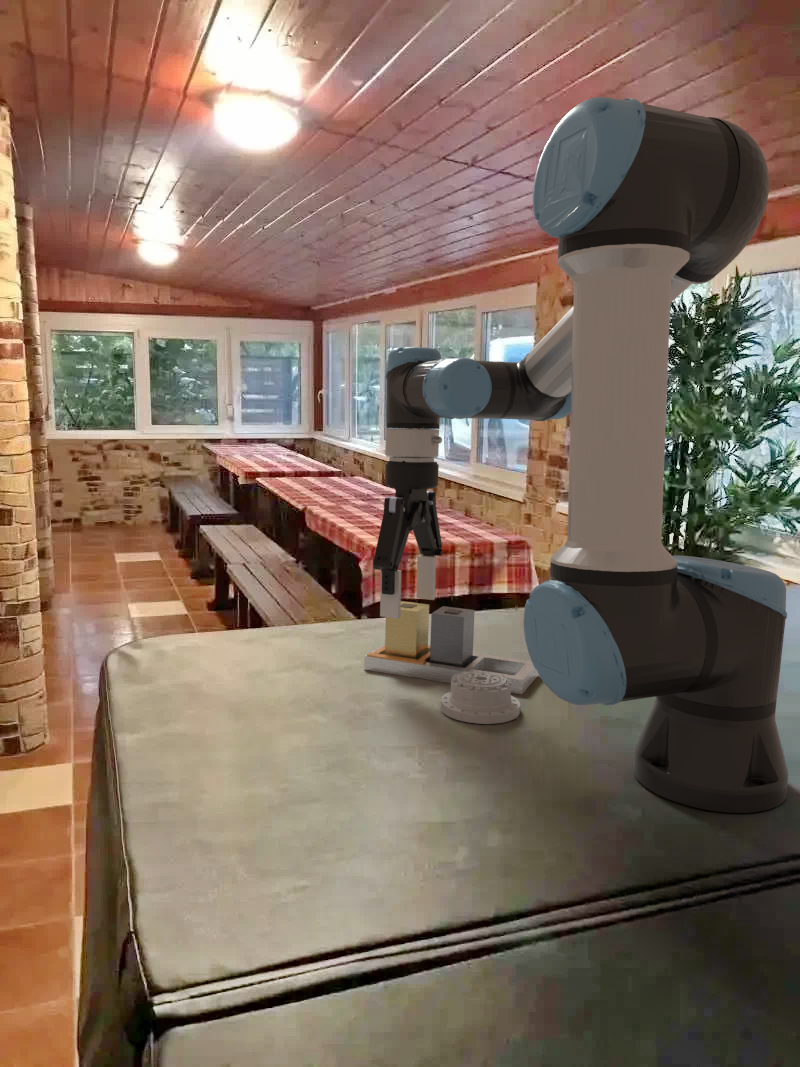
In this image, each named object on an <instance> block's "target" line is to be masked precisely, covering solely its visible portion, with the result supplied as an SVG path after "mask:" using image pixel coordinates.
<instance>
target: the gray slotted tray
mask: <svg viewBox="0 0 800 1067" xmlns="http://www.w3.org/2000/svg"><path fill="white" fill-rule="evenodd" d="M363 659H364V660H363V662H364V663H363V666H364V667H363V668H364V670H365V671H371V672H376V673H382V674H383V673H384V674H390V675H395V676H396V675H397V676H403V677H408V678H416V679H422V680H428V681H433V682H440V683H447V684H451V680H452V677H453V676H454V675H455V674H457V675H459V674H461V673H463V672H472V671H487V672H494V673H495V674H498V675H505V678H506V679H510V680H511V694H517V695H523V694H524V693H525V692H526V690H528V688H529V687H530V686H531V684H533V682H534V681H535V680H536V679H537V677H539V674H538V671H537V670H536V669H535V667H534V665H533V663H532V660H526V659H518V658H511V657H504V656H498V655H491V654H484V653H483V654H482V653H476V652H473V661H472V663H471V664H469V665H468V666H467V667H466V668H461V667H454V666H448V665H441V664H434V663H430V645H428V653H427V654H425V655H424V656H423V657H421V658H420V659H418V660H417V659H410V658H404V657H397V656H390V655H385V643H384V644H382V645H381V646H378V647H377V648H376V649H373V650H371V651H370V652H369V653H367V654H365V655H364V658H363Z"/></svg>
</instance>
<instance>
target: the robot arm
mask: <svg viewBox="0 0 800 1067" xmlns="http://www.w3.org/2000/svg"><path fill="white" fill-rule="evenodd" d="M769 176H770V175H769V168H768V166H767V162H766V158H765V156H764V153H763V151H762V149H761V148H760V146H759V144H758V143H757V141H755V139H754V138H753V137H752V136H751V135H750V134H749V132H748V131H746V130H744V129H743V128H742V127H740V126H739V125H737V124H735V123H733V122H731V121H729V120H726V119H722V118H717V117H712V116H711V117H709V116H708V117H707V116H703V115H698V114H694V113H693V114H692V113H688V112H684V111H681V110H680V111H679V110H675V109H670V108H665V107H660V106H656V105H652V104H647V103H644V102H643V103H642V102H640V100H638V99H636V98H624V99H620V98H619V99H618V98H612V97H607V96H596V97H591V98H588V99H585V100H583V101H582V102H580V103H578V104H577V105H575V106H574V107H573V108H572V109H570V110H569V111H568V112H567V113H566V114H565V115H564V116H563V117H562V118H561V120H560V121H559V122H558V123H557V125H556V126H555V128H554V129H553V132H552V134H551V135H550V137H549V139H548V141H547V142H546V144H545V146H544V148H543V151H542V153H541V154H540V158H539V161H538V164H537V168H536V171H535V175H534V181H533V187H532V210H533V211H532V212H533V215H534V218H535V219H536V220H537V225H538V226H539V227H540V230H541V231H543V232H544V233H546V234H548V236H550V237H553V238H555V239H556V238H558V240H557V241H558V244H557V251H558V252H557V266H558V267H559V268H560V269H561V270H562V271H563V272H564V273H565V274H566V275H567V277H568V278H569V279H570V280H571V281H572V283H573V305H572V307H571V308H570V309H569V310H568V311H567V312H566V313H565V314H563V316H562V317H561V319H560V320H559V321H558V322H557V323H556V324H555V325H554V326H552V328H551V329H550V330H549V331H548V332H547V333H546V334H545V335H544V336H543V337H542V339H541V340H540V341H539V342H538V343H537V344H535V346H534V347H533V348H532V349H531V350H530V351H529V352H528V353H527V354H526V355H525V356H524V357H523V358H522V360H519V361H517V362H515V361H514V362H513V361H499V360H498V361H493V360H492V361H490V360H475V359H473V358H470V357H465V356H464V357H461V356H460V357H459V356H458V357H456V356H449V357H446V358H442V354H441V352H440V350H438V349H437V348H435V347H434V348H433V347H425V346H424V347H423V346H422V347H421V346H405V347H404V346H401V347H395V348H393V349H391V350H390V351H389V353H388V355H387V365H386V366H387V368H386V372H385V379H386V425H385V426H386V428H385V449H384V450H385V451H384V455H385V456H386V457H387V458H389V460H387V461H386V462H385V468H384V469H385V470H384V474H385V476H384V483H385V486H386V487H387V488H391V489H395V493H394V496H385V497H384V504H383V515H382V520H381V523H380V524H381V525H380V530H379V534H378V537H377V538H378V539H377V544H376V547H375V553H374V558H373V563H372V565H373V569H374V570H379V571H380V595H379V596H380V599H379V600H380V602H379V604H380V606H379V616H380V617H383V618H386V617H390V618H400V612H401V601H402V599H401V598H402V570H399V568H400V563H401V561H402V558H403V555H404V551H405V548H406V544H407V541H408V539H409V536H410V532H411V531H413V535H414V538H415V541H416V543H417V547H418V551H419V555H417V558H416V560H417V561H416V562H417V564H416V597H415V598H416V599H419V600H420V599H421V600H430V601H435V599H436V575H437V574H436V573H437V571H436V569H437V568H436V566H437V564H436V563H437V557H442V556H443V548H442V547H443V545H442V544H443V542H442V537H441V530H440V522H439V519H438V518H439V517H438V511H437V493H436V491H435V490H432V489H435V488H436V489H437V487H438V485H439V464H438V462H437V461H435V459H437V458H438V457H439V446H440V445H439V444H441V443H442V441H443V438H442V437H441V436H440V423H441V422H440V421H441V420H440V419H449V420H454V419H456V420H462V419H463V420H464V419H484V420H485V419H487V420H497V419H498V420H526V421H527V420H528V421H531V420H532V421H536V422H546V421H549V420H561V419H565V417H567V416H569V415H570V422H569V423H570V425H569V428H570V429H569V431H570V432H569V464H568V465H569V467H568V470H569V471H568V496H567V497H568V503H567V505H568V506H567V507H568V508H567V539H566V540H565V542H564V544H563V545H561V547H560V548H559V549H558V550H556V552H554V553H553V554H552V555H551V557H550V561H549V562H550V565H549V567H550V568H549V569H550V570H549V575H550V576H549V577H550V578H549V580H545V581H543V582H541V583H539V584H538V585H536V586H535V587H534V588H533V589H532V590H531V591H530V593H529V598H528V599H526V603H525V605H524V609H523V610H524V611H523V633H524V639H525V643H526V644H525V645H526V649H527V651H528V655H529V657H530V661H532V663H533V665H534V667H535V669H536V670H537V671H538V677H539V678H540V679H541V680H542V682H543V683H544V685H545V686H546V687H547V688H548V690H549V691H551V693H553V694H554V695H555V696H556V697H558V698H559V699H560V700H562V701H564V702H565V703H568V704H571V705H577V706H590V705H591V706H592V705H602V706H603V705H604V706H612V705H613V706H614V705H616V704H619V703H621V702H628V701H634V700H636V701H637V700H640V699H642V700H643V699H647V698H654V697H655V698H654V699H655V700H654V702H653V705H652V708H651V710H650V712H649V714H648V717H647V719H646V722H645V723H644V726H643V728H642V730H641V732H640V735H639V738H638V739H637V742H636V744H635V747H634V750H633V762H632V772H633V775H634V777H635V779H636V780H637V781H638V782H639V783H640V784H641V785H642V786H644V787H645V788H646V789H648V790H649V791H651V792H652V793H655V794H657V795H658V796H661V797H663V798H665V799H667V800H669V801H672V802H675V803H678V804H680V805H685V806H688V807H692V808H694V809H695V808H696V809H701V810H706V811H712V812H720V813H733V814H746V813H747V814H748V813H758V812H763V811H768V810H771V809H774V808H776V807H778V806H780V805H781V804H783V802H784V801H785V800H786V798H787V796H788V795H787V794H788V785H789V770H788V765H787V762H786V758H785V755H784V749H783V746H782V742H781V738H780V734H779V729H778V726H777V722H776V709H777V701H778V693H779V692H778V691H779V682H780V681H779V680H780V675H781V674H780V672H781V665H782V664H781V663H782V654H783V644H784V636H785V628H786V627H785V626H786V619H787V618H788V613H787V611H786V609H787V608H786V607H787V587H786V586H787V585H786V583H785V582H784V580H783V578H781V577H780V575H778V574H777V573H775V572H773V571H769V570H766V569H761V568H759V567H755V566H754V567H753V566H750V565H745V564H741V563H736V562H735V563H734V562H728V561H725V560H724V561H723V560H719V559H713V558H707V557H706V558H705V557H697V556H692V555H690V556H688V555H679V554H678V555H677V554H676V555H672V554H670V552H669V551H668V550H667V549H666V548H665V547H664V545H663V542H662V535H663V532H662V530H663V510H664V509H663V507H664V506H663V504H664V502H663V501H664V483H665V482H664V478H665V476H664V475H665V454H666V451H665V450H666V449H665V448H666V430H667V429H666V425H667V424H666V423H667V397H668V373H669V371H668V370H669V368H668V367H669V344H670V343H669V342H670V318H671V303H672V302H674V300H676V299H677V298H678V297H679V296H680V295H681V294H683V292H685V291H686V290H687V289H688V288H689V287H691V286H692V285H702V284H703V285H704V284H706V283H708V282H710V281H711V280H713V279H714V278H716V276H718V274H720V273H721V272H722V271H723V270H724V269H726V268H727V267H728V266H729V265H730V263H732V262H733V261H734V260H735V259H736V258H737V257H738V256H739V255H740V254H741V253H742V251H743V250H744V249H745V247H746V246H747V245H748V244H749V242H750V241H751V239H752V238H753V236H754V235H755V234H756V232H757V230H758V228H759V226H760V224H761V221H762V219H763V216H764V214H765V212H766V209H767V204H768V200H769V193H770V178H769ZM430 489H431V490H430Z"/></svg>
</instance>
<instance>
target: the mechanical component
mask: <svg viewBox="0 0 800 1067" xmlns="http://www.w3.org/2000/svg"><path fill="white" fill-rule="evenodd" d="M495 673H496V672H489V671H488V672H487V671H472V672H463V673H461V674H459V675H457V674H455V675H454V676H453V677H452V680H451V683H450V691H448V692H446V693H445V694H443V695H442V696H441V698H440V708H439V709H440V710H441V712H442V713H443V714H444V715H446V716H447V717H449V718H451V719H453V720H457V721H460V722H464V723H471V724H480V725H481V724H483V725H493V724H502V723H503V724H504V723H506V722H511V721H512V720H515V719H517V718H518V717H519V715H520V712H521V703H520V700H519V699H518V698H516V697H515V696H513V695H511V694H512V693H511V680H510V679H506V678H505V675H498V674H495Z"/></svg>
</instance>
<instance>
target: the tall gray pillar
mask: <svg viewBox="0 0 800 1067" xmlns="http://www.w3.org/2000/svg"><path fill="white" fill-rule="evenodd" d="M475 612H476V611H475V609H468V608H460V607H450V606H445V605H444V606H441V607H439V608H438V609H436V610H434V611H433V612H431V619H430V640H429V641H430V645H429V646H430V663H434V664H441V665H448V666H454V667H461V668H466V667H467V666H468V665H469V664H471V663H472V661H473V653H474V638H475V637H474V633H475V632H474V631H475Z"/></svg>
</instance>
